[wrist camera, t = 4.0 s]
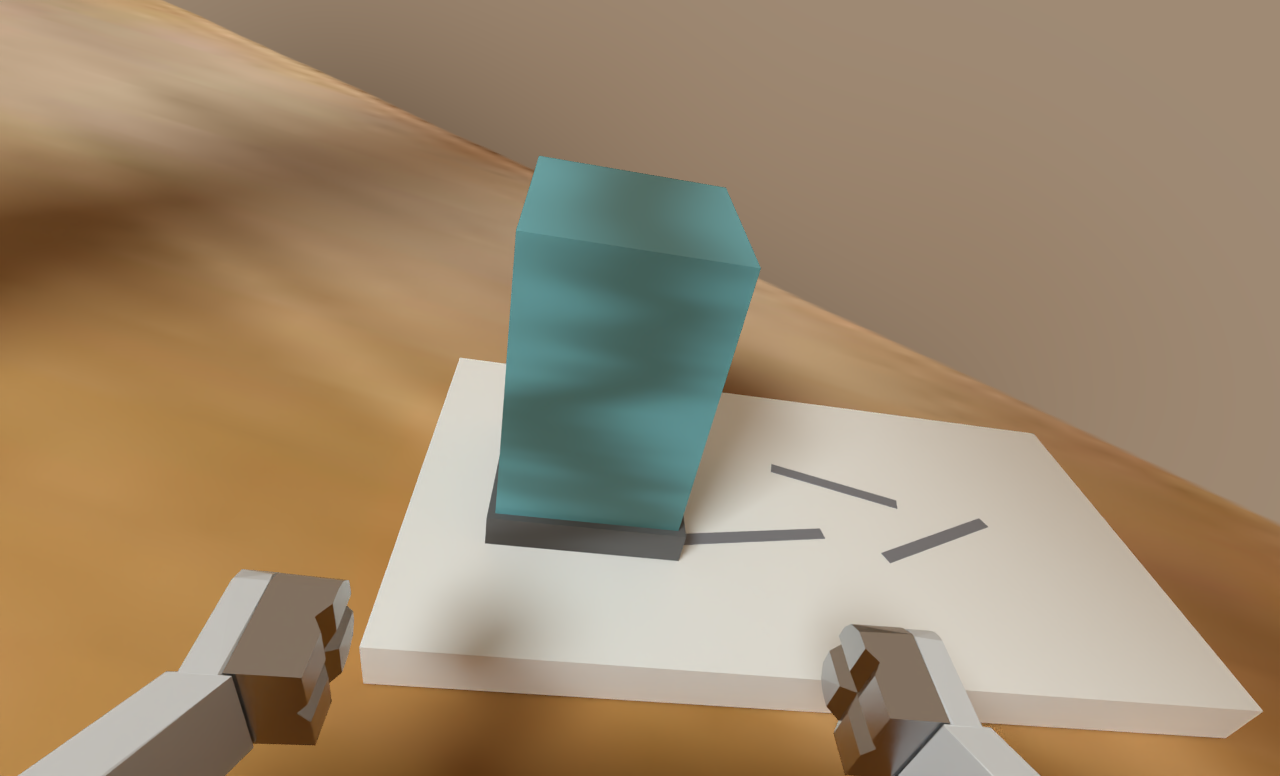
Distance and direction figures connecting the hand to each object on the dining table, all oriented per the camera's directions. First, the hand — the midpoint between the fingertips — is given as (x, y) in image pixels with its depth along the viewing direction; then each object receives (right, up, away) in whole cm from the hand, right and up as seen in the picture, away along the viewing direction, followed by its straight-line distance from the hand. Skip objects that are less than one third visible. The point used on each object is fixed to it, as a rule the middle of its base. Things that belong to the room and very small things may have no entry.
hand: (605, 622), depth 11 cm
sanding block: (-1, +1, +9) cm, 10 cm away
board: (+6, -1, +11) cm, 13 cm away
